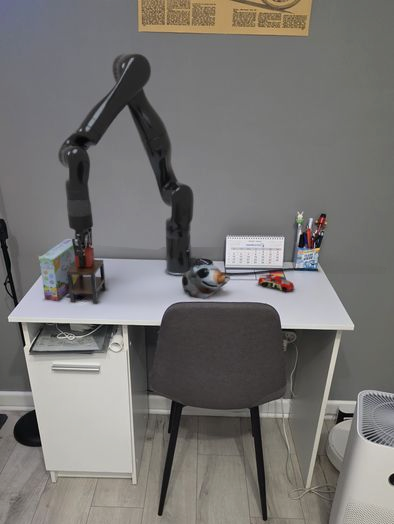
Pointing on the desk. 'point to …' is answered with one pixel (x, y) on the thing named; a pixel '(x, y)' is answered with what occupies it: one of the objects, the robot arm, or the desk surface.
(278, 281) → the race car
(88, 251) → the block
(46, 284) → the snack box
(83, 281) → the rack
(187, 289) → the spotted animal figurine
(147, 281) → the desk surface
